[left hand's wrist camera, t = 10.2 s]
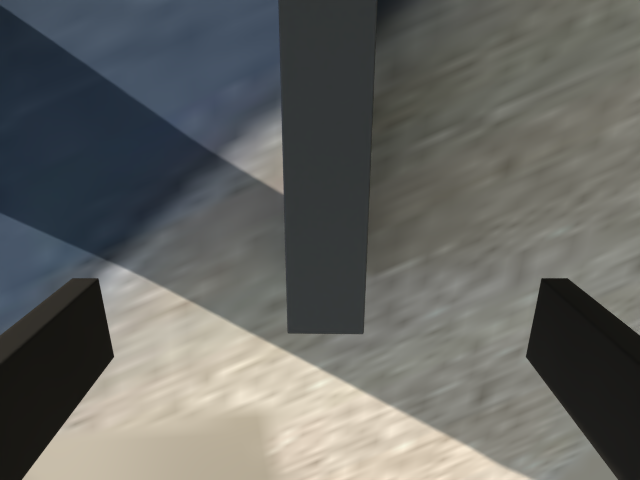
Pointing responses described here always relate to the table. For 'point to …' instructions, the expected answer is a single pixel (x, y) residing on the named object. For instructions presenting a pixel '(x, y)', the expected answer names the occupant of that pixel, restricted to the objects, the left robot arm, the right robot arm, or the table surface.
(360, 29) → the beam
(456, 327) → the table surface
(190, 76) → the table surface
